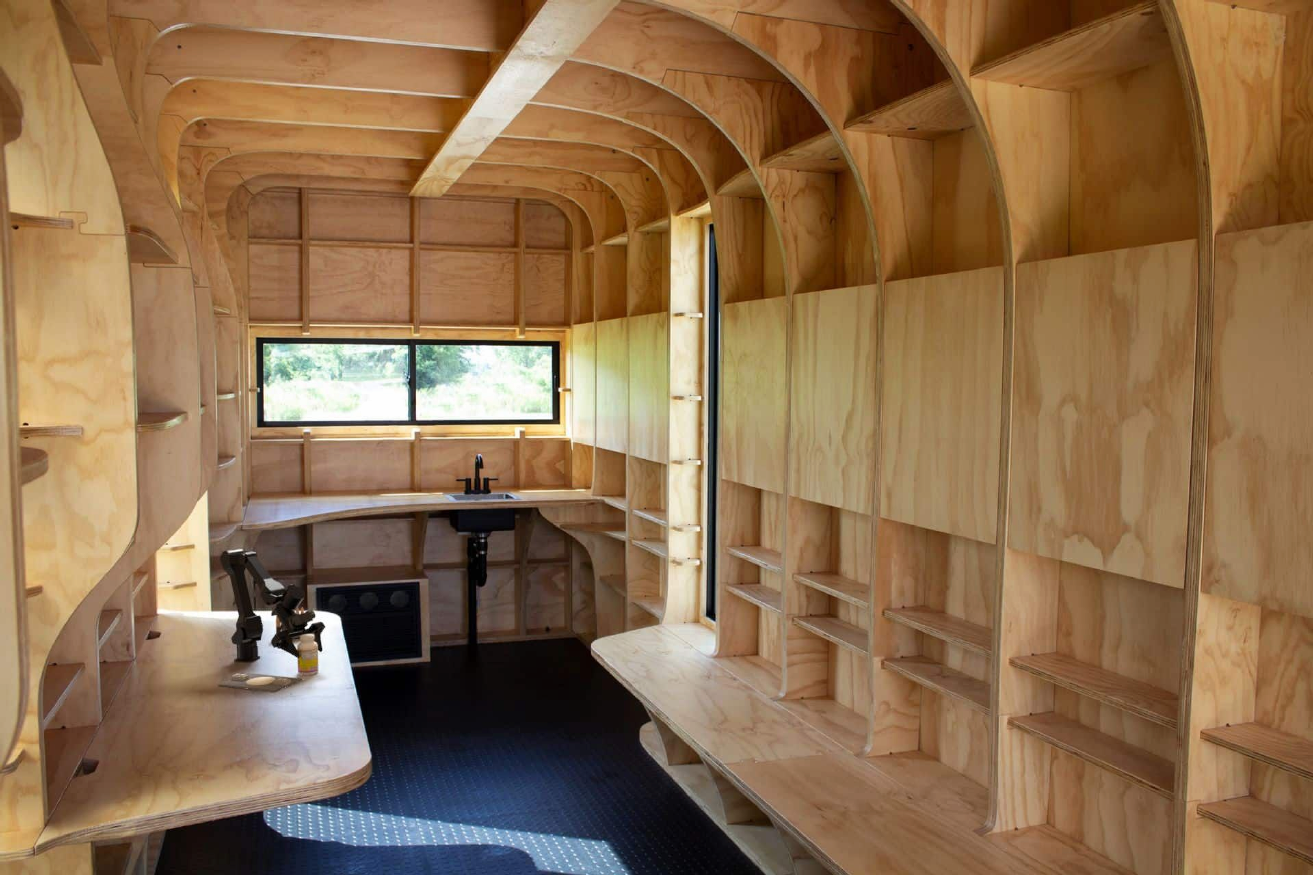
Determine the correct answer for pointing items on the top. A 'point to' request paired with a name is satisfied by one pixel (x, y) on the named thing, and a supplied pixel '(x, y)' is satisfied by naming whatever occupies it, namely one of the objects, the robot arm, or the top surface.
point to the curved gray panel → (260, 682)
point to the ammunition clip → (281, 624)
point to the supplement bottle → (307, 655)
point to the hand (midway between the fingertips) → (310, 654)
